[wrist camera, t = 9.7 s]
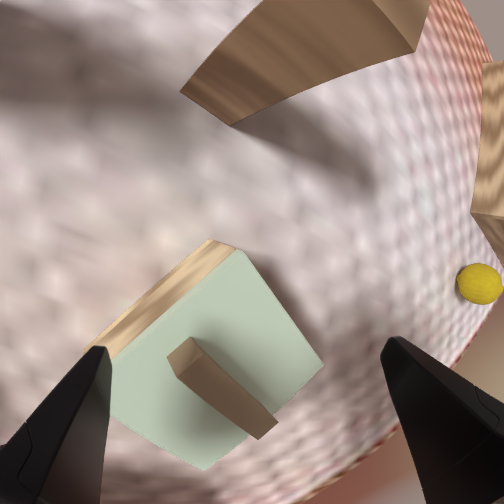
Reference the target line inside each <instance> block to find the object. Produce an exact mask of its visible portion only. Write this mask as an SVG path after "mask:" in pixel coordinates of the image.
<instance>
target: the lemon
mask: <svg viewBox="0 0 504 504" xmlns="http://www.w3.org/2000/svg"><path fill="white" fill-rule="evenodd" d="M456 280H457V282H458V286H459V290H460V293H461V294H462V296H463V297H464V298H465V299H466V300H468V301H470V302H472V303H475V304H481V305H485V304H490V303H492V302H494V301H495V300H496V299H497V298H498V297H499V295H500V294H501V293H502V292H503V289H504V288H503V286H502V280H501V277H500V275H499V273H498V272H497V271H496V270H495V269H494V268H492V267H490V266H488V265H485V264H481V263H474V264H471V265H468V266H467V267H465V268H464V269H463V271H462V272H461V274H459V275H458V276H457V278H456Z"/></svg>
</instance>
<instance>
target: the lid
mask: <svg viewBox="0 0 504 504" xmlns="http://www.w3.org/2000/svg"><path fill="white" fill-rule="evenodd" d="M111 363H112V385H111V402H110V415H111V416H112V417H114V418H115V419H117V420H118V421H119V422H121V423H122V424H124V425H125V426H127V427H128V428H130V429H131V430H133V431H134V432H136V433H137V434H139V435H140V436H142V437H144V438H145V439H147V440H148V441H150V442H152V443H153V444H155V445H157V446H158V447H160V448H162V449H163V450H165V451H167V452H169V453H170V454H172V455H174V456H176V457H177V458H179V459H181V460H183V461H185V462H187V463H189V464H190V465H192V466H194V467H196V468H198V469H200V470H202V471H205V470H207V469H208V468H209V467H211V466H212V465H213V464H215V463H216V462H217V461H218V460H220V459H221V458H222V457H224V456H225V455H226V454H227V453H229V452H230V451H231V450H232V449H234V448H235V447H236V446H237V445H239V444H240V443H241V442H242V441H243V440H245V439H246V438H247V437H248V436H249V435H251V436H253V437H254V438H256V439H257V440H259V439H260V438H261V437H262V436H264V435H265V434H266V433H267V432H268V431H269V430H270V429H272V428H273V427H274V426H275V425H276V424H277V423H278V421H277V420H276V419H275V418H274V417H273V416H272V415H273V414H274V413H276V412H277V411H278V410H279V409H280V408H281V407H282V406H283V405H284V404H285V403H286V402H287V401H288V400H290V399H291V398H292V397H293V396H294V395H295V394H296V393H297V392H298V391H299V390H300V389H301V388H302V387H303V386H304V385H305V384H306V383H307V382H308V381H309V380H310V379H311V378H312V377H313V376H314V375H315V374H316V373H317V372H318V371H319V370H320V369H321V368H322V367H323V366H324V364H323V362H322V361H321V360H320V358H319V357H318V356H317V354H316V353H315V351H314V350H313V349H312V347H311V346H310V344H309V343H308V342H307V340H306V339H305V337H304V336H303V335H302V333H301V332H300V330H299V329H298V328H297V326H296V325H295V323H294V322H293V321H292V319H291V318H290V316H289V315H288V314H287V312H286V311H285V309H284V308H283V307H282V305H281V304H280V302H279V301H278V300H277V298H276V297H275V295H274V294H273V292H272V291H271V290H270V288H269V287H268V285H267V284H266V283H265V281H264V280H263V278H262V277H261V276H260V274H259V273H258V271H257V270H256V269H255V267H254V266H253V264H252V263H251V261H250V260H249V259H248V257H247V256H246V254H245V253H244V252H243V251H241V250H238V249H236V250H235V251H234V252H233V253H232V254H231V255H229V256H228V257H227V258H226V259H225V260H224V261H223V262H221V263H220V264H219V265H218V266H217V267H216V268H215V269H213V270H212V271H211V272H210V273H209V274H208V275H207V276H205V277H204V278H203V279H202V280H201V281H200V282H199V283H197V284H196V285H195V286H194V287H193V288H192V289H191V290H189V291H188V292H187V293H186V294H185V295H184V296H183V297H181V298H180V299H179V300H178V301H177V302H176V303H175V304H173V305H172V306H171V307H170V308H169V309H168V310H167V311H166V312H164V313H163V314H162V315H161V316H160V317H159V318H158V319H156V320H155V321H154V322H153V323H152V324H151V325H150V326H149V327H147V328H146V329H145V330H144V331H143V332H142V333H141V334H140V335H138V336H137V337H136V338H135V339H134V340H133V341H132V342H131V343H129V344H128V345H127V346H126V347H125V348H124V349H123V350H122V351H121V352H119V353H118V354H117V355H116V356H115V357H114V358H113V359H112V360H111Z"/></svg>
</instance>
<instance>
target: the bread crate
mask: <svg viewBox="0 0 504 504" xmlns="http://www.w3.org/2000/svg"><path fill="white" fill-rule="evenodd" d="M470 213H471V214H472V216H473V217H474V219H475V220H476V222H477V223H478V225H479V227H480V228H481V230H482V231H483V233H484V234H485V236H486V238H487V239H488V241H489V243H490V244H491V246H492V248H493V249H494V251H495V253H496V255H497V256H498V258H499V260H500V262H501V264H502V265H503V267H504V61H499V62H490V63H483V64H482V123H481V138H480V149H479V159H478V167H477V175H476V182H475V188H474V194H473V200H472V205H471V211H470Z"/></svg>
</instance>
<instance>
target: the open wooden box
mask: <svg viewBox="0 0 504 504" xmlns="http://www.w3.org/2000/svg"><path fill="white" fill-rule="evenodd" d="M235 250H236V249H235V248H233V247H230V246H227V245H225V244H222V243H219V242H217V241H214V240H211V239H208V240H207V241H206V242H205V243H204V244H202V245H201V246H200V247H199V248H198V249H196V250H195V251H194V252H193V253H192V254H191V255H189V256H188V257H187V258H186V259H185V260H184V261H182V262H181V263H180V264H179V265H178V266H177V267H175V268H174V269H173V270H172V271H171V272H170V273H168V274H167V275H166V276H165V277H164V278H163V279H162V280H160V281H159V282H158V283H157V284H156V285H155V286H154V287H152V288H151V289H150V290H149V291H148V292H147V293H146V294H145V295H143V296H142V297H141V298H140V299H139V300H138V301H137V302H135V303H134V304H133V305H132V306H131V307H130V308H129V309H128V310H127V311H125V312H124V313H123V314H122V315H121V316H120V317H119V318H118V319H117V320H115V321H114V322H113V323H112V324H111V325H110V326H109V327H108V328H107V329H106V330H105V331H103V332H102V333H101V334H100V335H99V336H98V337H97V338H96V339H95V340H94V341H93V342H91V343H90V344H89V345H88V346H87V347H86V348H85V349H84V354H85V353H86V352H87V351H88V350H89V349H90V348H91V347H92V346H93V345H100V346H106V347H107V349H108V352H109V356H110V359H111V360H112V359H113V358H114V357H115V356H116V355H117V354H118V353H119V352H121V351H122V350H123V349H124V348H125V347H126V346H127V345H128V344H129V343H131V342H132V341H133V340H134V339H135V338H136V337H137V336H138V335H140V334H141V333H142V332H143V331H144V330H145V329H146V328H147V327H149V326H150V325H151V324H152V323H153V322H154V321H155V320H156V319H158V318H159V317H160V316H161V315H162V314H163V313H164V312H166V311H167V310H168V309H169V308H170V307H171V306H172V305H173V304H175V303H176V302H177V301H178V300H179V299H180V298H181V297H183V296H184V295H185V294H186V293H187V292H188V291H189V290H191V289H192V288H193V287H194V286H195V285H196V284H197V283H199V282H200V281H201V280H202V279H203V278H204V277H205V276H207V275H208V274H209V273H210V272H211V271H212V270H213V269H215V268H216V267H217V266H218V265H219V264H220V263H221V262H223V261H224V260H225V259H226V258H227V257H228V256H229V255H231V254H232V253H233V252H234V251H235Z"/></svg>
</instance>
